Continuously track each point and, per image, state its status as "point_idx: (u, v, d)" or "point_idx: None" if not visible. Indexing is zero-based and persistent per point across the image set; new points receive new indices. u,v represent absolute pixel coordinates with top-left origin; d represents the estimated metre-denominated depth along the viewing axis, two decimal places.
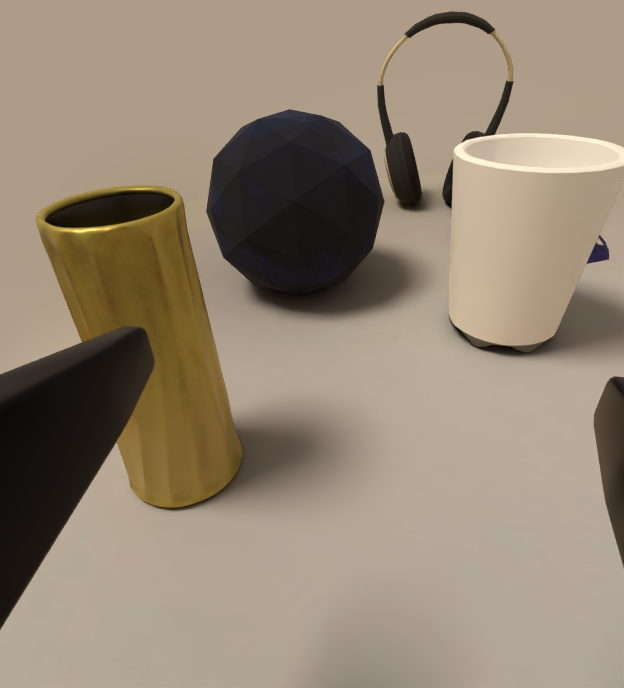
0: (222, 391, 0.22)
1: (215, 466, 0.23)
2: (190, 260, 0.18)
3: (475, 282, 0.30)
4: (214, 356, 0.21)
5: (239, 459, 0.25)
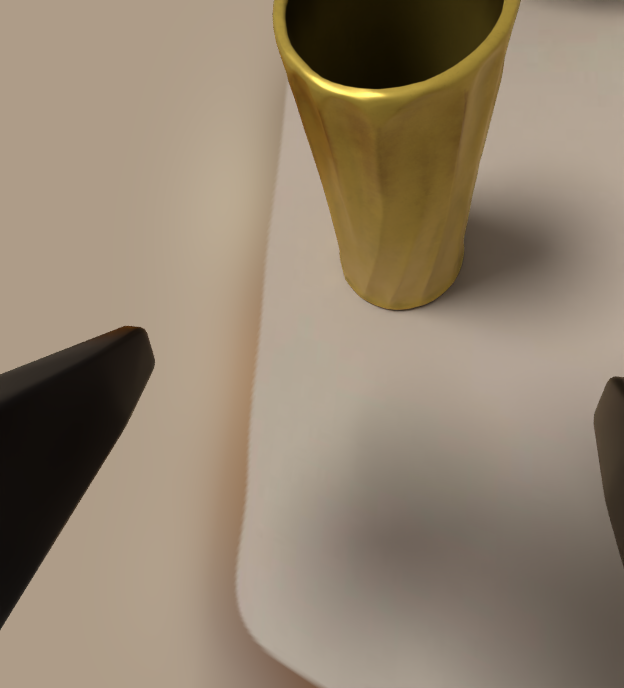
0: (468, 210, 0.18)
1: (439, 280, 0.21)
2: None
3: None
4: (475, 181, 0.16)
5: (461, 262, 0.22)
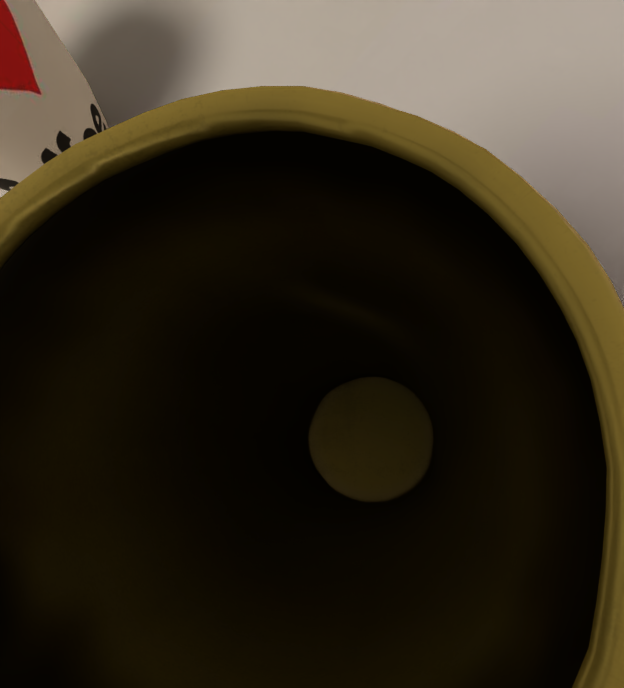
0: None
1: None
2: None
3: None
4: None
5: None
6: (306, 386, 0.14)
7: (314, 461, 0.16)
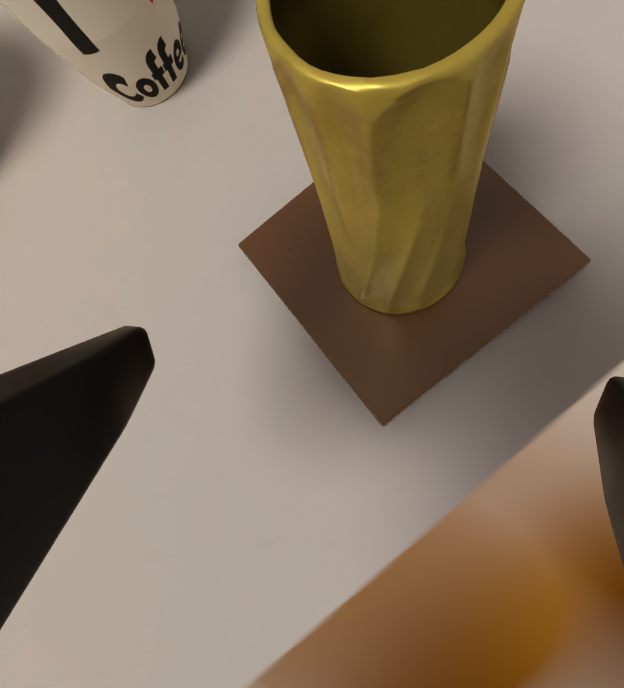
0: (471, 211, 0.17)
1: (439, 283, 0.20)
2: (503, 71, 0.10)
3: None
4: None
5: (462, 265, 0.21)
6: None
7: None
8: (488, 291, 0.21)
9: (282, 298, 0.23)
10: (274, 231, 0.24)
